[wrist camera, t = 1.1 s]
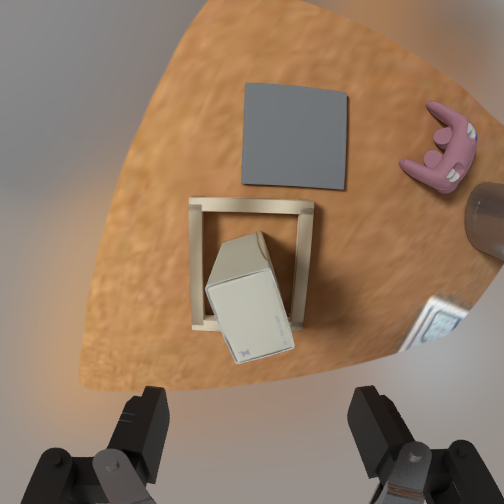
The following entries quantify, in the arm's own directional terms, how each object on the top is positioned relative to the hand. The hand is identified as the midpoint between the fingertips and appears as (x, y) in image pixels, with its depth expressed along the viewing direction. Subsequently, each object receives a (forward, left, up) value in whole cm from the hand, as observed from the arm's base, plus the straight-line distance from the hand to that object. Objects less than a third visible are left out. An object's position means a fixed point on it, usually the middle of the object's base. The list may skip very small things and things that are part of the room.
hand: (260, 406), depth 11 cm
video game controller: (-20, -14, -20) cm, 31 cm away
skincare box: (0, 0, -20) cm, 20 cm away
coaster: (-4, -13, -20) cm, 24 cm away
